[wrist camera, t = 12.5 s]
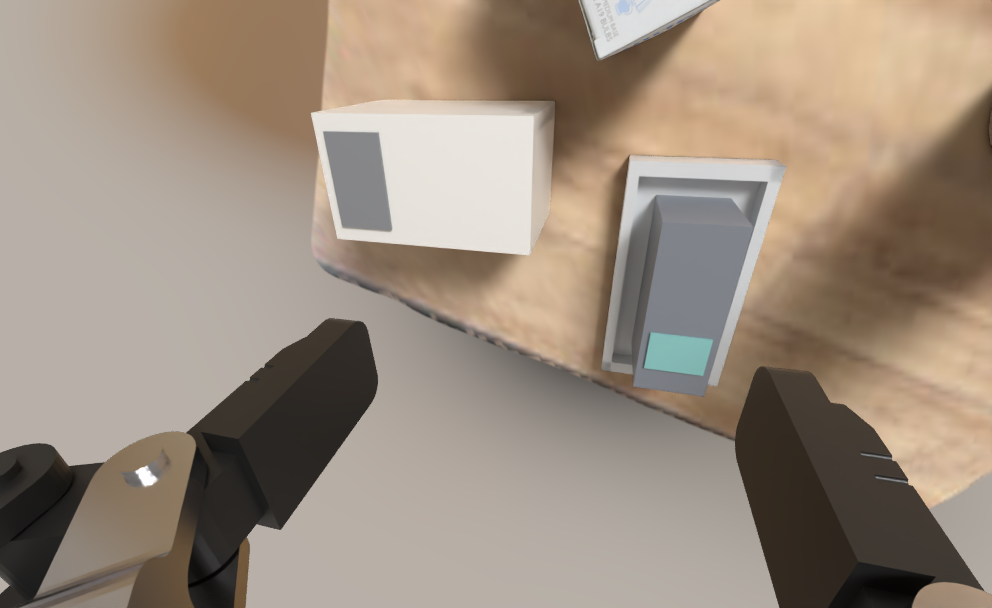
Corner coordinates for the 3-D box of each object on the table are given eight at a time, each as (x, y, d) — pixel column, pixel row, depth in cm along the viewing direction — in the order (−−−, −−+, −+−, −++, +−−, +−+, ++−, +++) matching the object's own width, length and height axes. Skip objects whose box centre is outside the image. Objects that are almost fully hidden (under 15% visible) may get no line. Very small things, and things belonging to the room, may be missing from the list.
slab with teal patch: (731, 198, 30) (754, 228, 25) (692, 349, 36) (704, 398, 31) (656, 194, 31) (663, 222, 26) (631, 342, 38) (633, 388, 32)
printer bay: (555, 100, 30) (533, 116, 23) (550, 211, 34) (529, 256, 27) (381, 99, 33) (308, 113, 26) (394, 201, 37) (335, 239, 30)
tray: (776, 159, 29) (786, 166, 27) (712, 371, 38) (717, 386, 36) (629, 155, 31) (629, 160, 29) (602, 356, 40) (601, 370, 38)
